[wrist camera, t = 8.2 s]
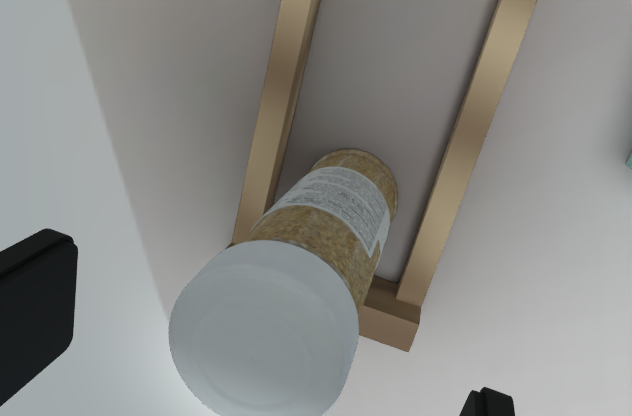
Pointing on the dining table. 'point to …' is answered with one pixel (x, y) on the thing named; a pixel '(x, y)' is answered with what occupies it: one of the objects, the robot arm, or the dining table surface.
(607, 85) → the dining table surface
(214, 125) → the dining table surface
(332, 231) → the sprinkles bottle
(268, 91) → the oak rail
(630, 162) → the teal button box
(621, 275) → the dining table surface
